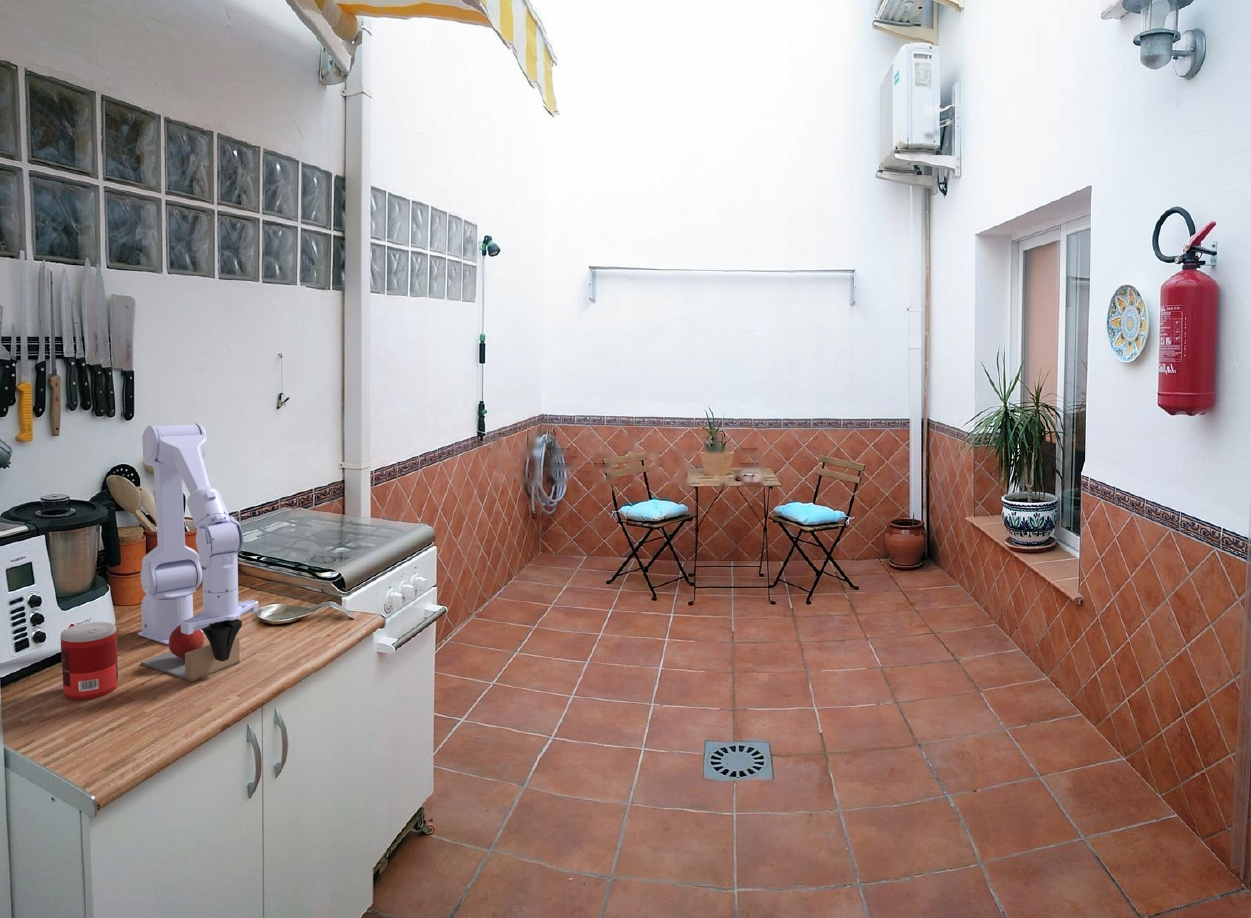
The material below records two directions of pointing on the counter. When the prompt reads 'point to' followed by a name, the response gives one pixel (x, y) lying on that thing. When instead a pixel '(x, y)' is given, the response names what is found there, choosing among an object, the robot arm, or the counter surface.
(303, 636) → the counter surface
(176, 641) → the onion
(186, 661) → the l-shaped bracket
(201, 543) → the robot arm
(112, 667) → the canned food
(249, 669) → the counter surface
